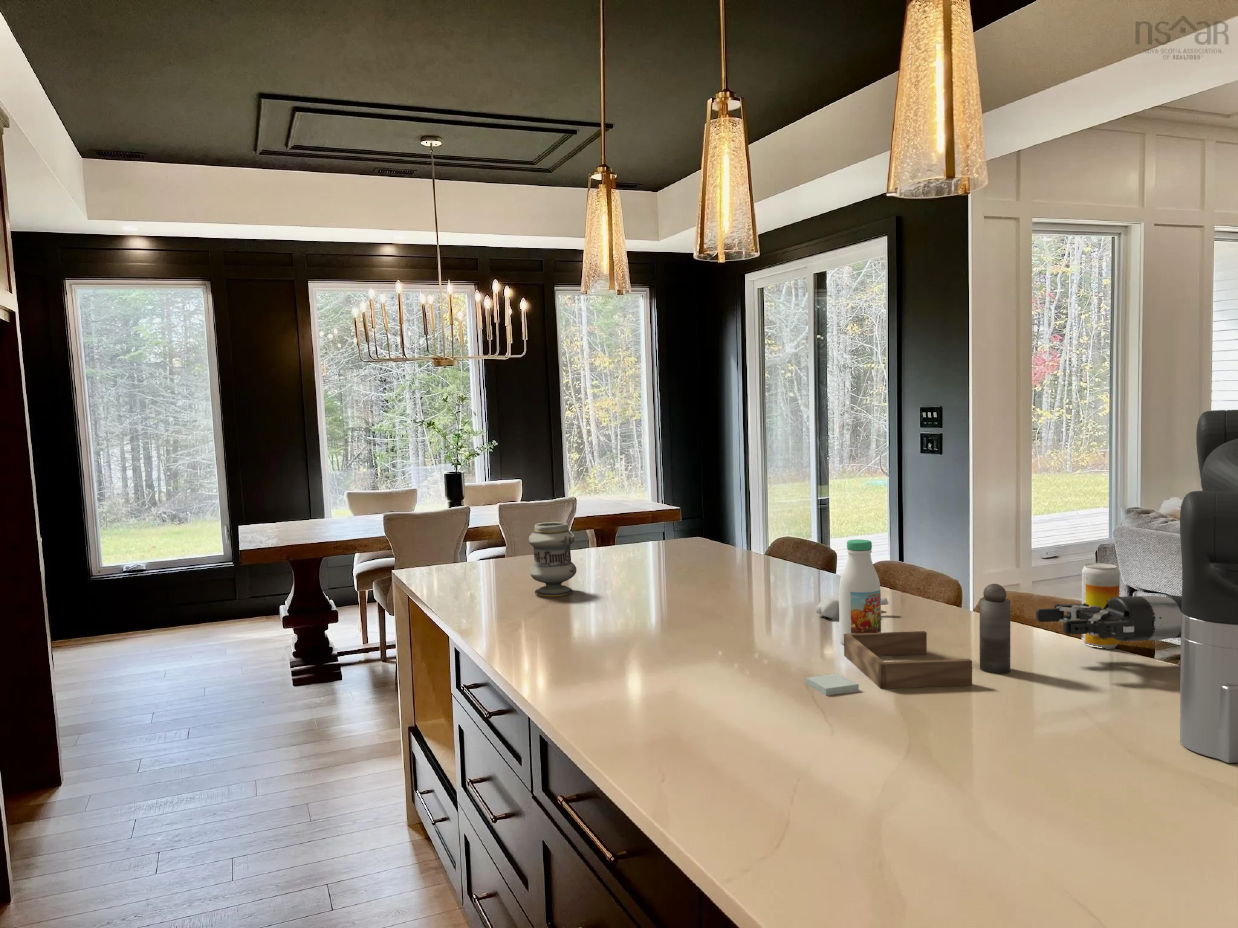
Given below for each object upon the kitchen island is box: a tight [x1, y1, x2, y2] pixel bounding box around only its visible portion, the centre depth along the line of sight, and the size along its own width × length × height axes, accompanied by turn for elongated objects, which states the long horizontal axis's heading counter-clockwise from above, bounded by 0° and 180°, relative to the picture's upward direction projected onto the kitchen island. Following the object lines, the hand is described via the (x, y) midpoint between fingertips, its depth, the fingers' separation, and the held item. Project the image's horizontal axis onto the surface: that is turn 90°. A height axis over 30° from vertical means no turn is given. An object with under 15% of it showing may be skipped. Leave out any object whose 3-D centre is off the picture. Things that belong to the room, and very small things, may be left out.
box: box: [843, 630, 973, 689], centre depth 145 cm, size 19×15×4 cm
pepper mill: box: [979, 583, 1011, 675], centre depth 143 cm, size 5×5×15 cm
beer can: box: [1081, 562, 1121, 650], centre depth 156 cm, size 6×6×15 cm
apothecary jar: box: [528, 521, 577, 597], centre depth 217 cm, size 12×12×18 cm
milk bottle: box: [838, 538, 882, 646], centre depth 161 cm, size 8×8×20 cm
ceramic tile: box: [805, 673, 860, 696], centre depth 136 cm, size 6×6×2 cm
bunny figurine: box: [815, 594, 889, 620], centre depth 185 cm, size 10×5×15 cm
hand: (1050, 621), depth 144 cm, fingers open, 8 cm apart
